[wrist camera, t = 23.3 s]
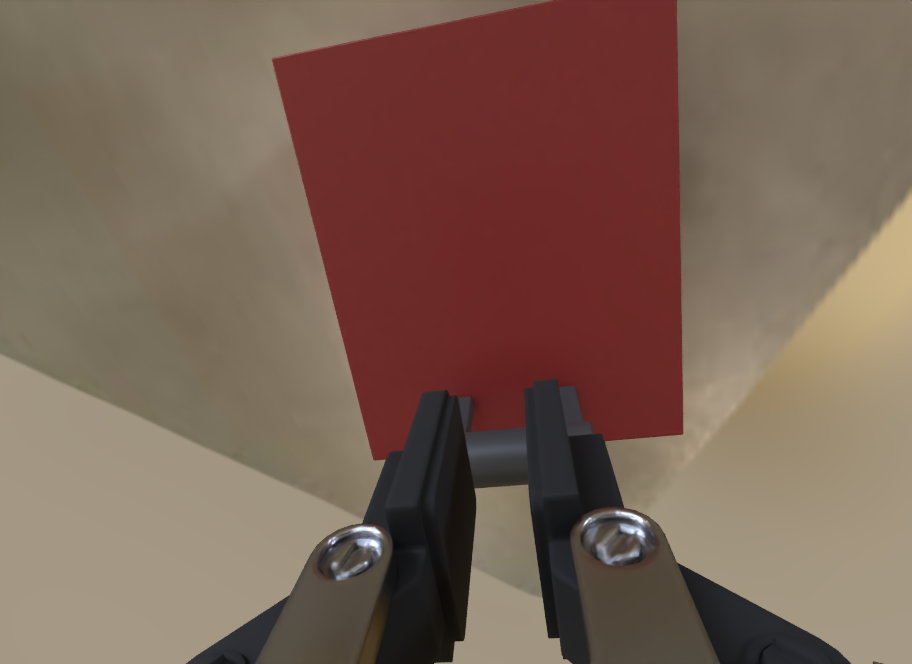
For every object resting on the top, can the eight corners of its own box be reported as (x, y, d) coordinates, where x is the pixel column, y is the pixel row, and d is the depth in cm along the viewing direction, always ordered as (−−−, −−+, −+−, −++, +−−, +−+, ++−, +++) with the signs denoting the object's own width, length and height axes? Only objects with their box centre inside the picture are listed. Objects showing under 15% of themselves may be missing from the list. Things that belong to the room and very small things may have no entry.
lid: (677, 424, 21) (731, 520, 16) (377, 450, 23) (339, 543, 18) (669, -19, 16) (744, -87, 11) (280, 60, 18) (187, 35, 13)
